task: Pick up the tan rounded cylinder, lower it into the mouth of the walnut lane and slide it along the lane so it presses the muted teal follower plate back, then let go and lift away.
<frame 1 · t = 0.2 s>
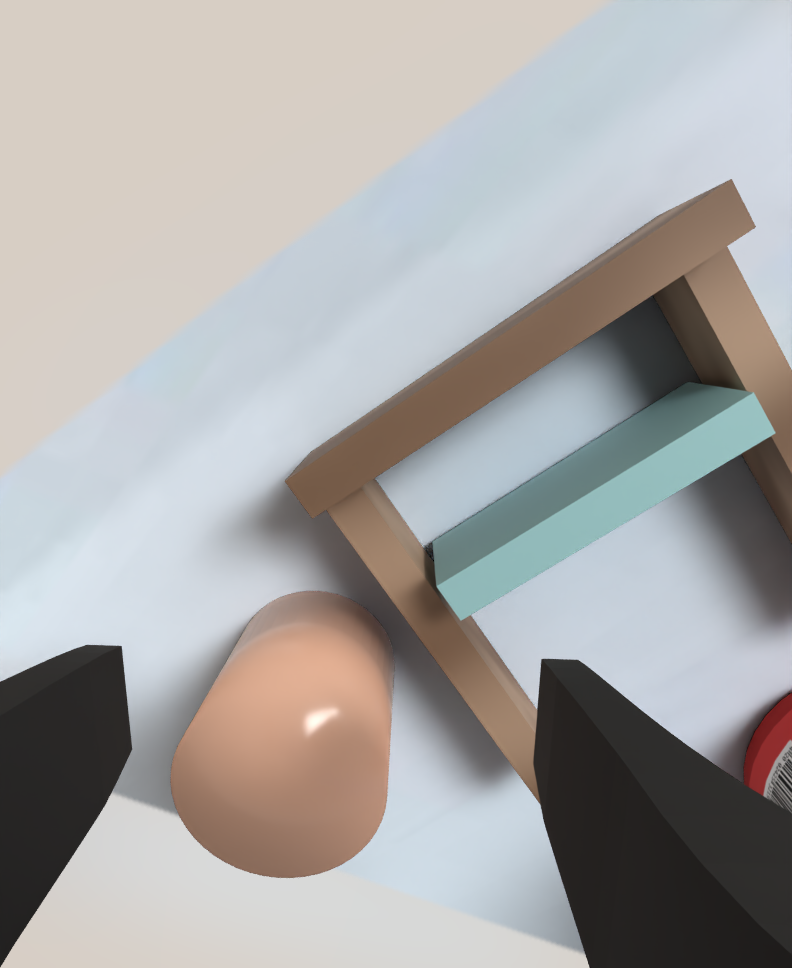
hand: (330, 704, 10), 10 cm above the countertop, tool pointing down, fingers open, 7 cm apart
lane: (594, 528, 19), on the countertop
follower plate: (580, 494, 17), point 2 cm above the countertop, slide at 0.0 cm
tan rounded cylinder: (316, 663, 21), on the countertop
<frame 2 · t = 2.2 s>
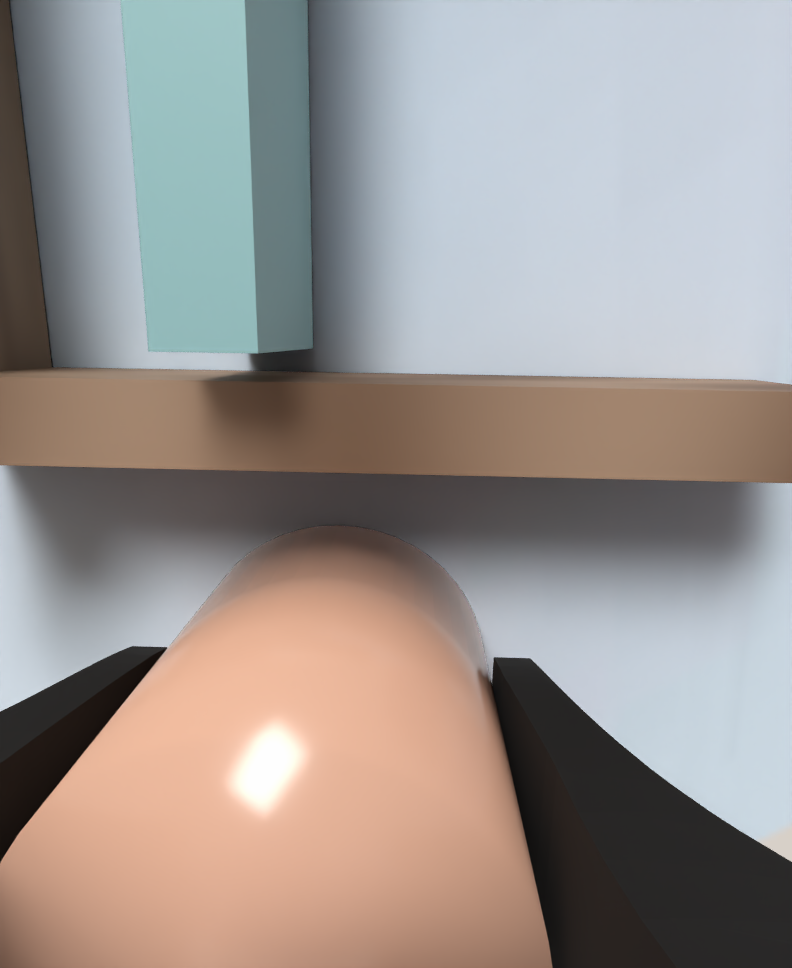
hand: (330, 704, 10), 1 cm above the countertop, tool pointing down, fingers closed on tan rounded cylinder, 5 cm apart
lane: (402, 38, 9), on the countertop
tan rounded cylinder: (340, 660, 12), on the countertop, touching gripper
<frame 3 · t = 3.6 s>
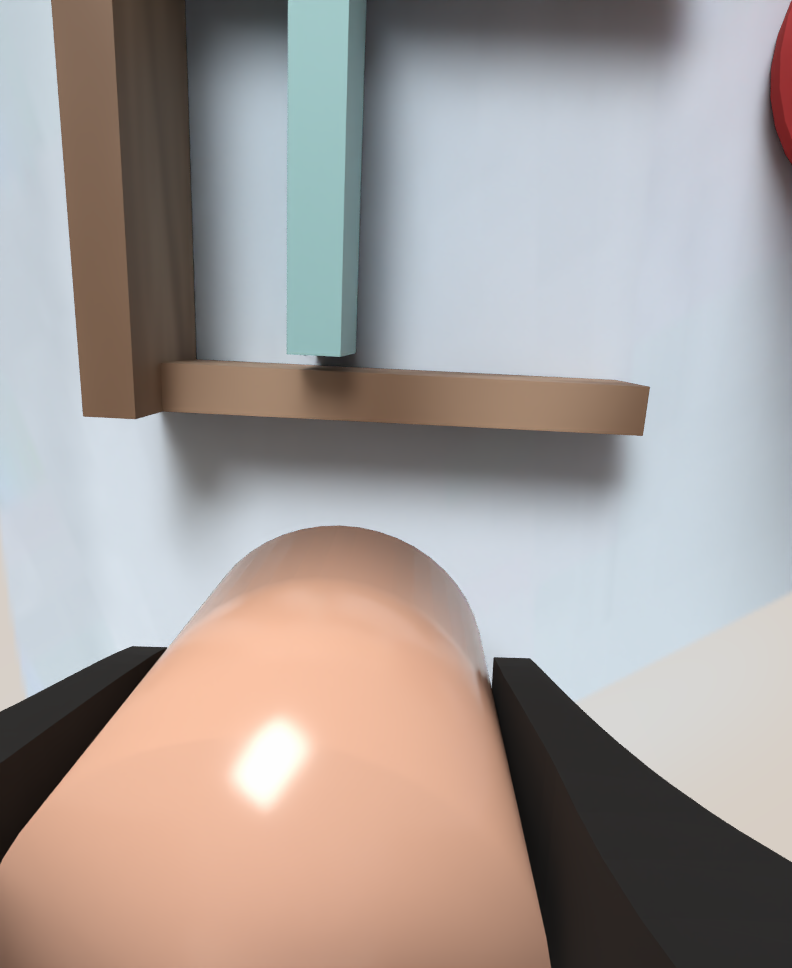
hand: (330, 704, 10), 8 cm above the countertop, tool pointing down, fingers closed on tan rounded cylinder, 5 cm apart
lane: (414, 178, 16), on the countertop
follower plate: (328, 152, 14), point 2 cm above the countertop, slide at 0.0 cm
tan rounded cylinder: (340, 660, 12), point 7 cm above the countertop, touching gripper
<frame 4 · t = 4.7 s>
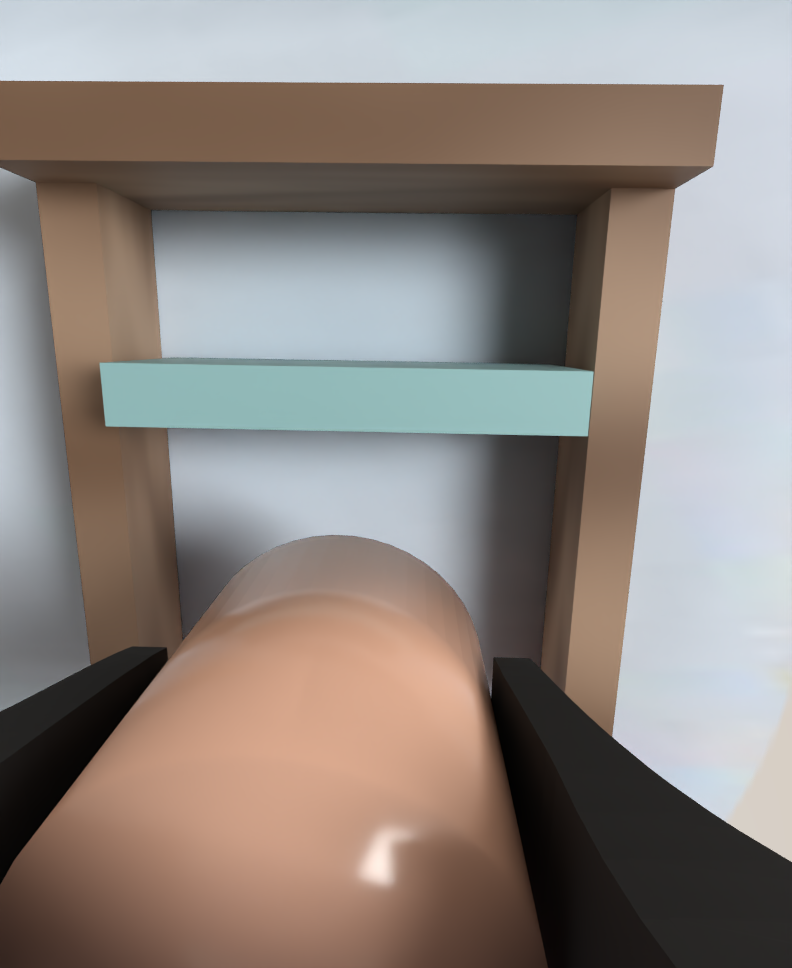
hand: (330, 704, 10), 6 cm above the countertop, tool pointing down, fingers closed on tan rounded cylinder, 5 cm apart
lane: (361, 463, 15), on the countertop
follower plate: (353, 391, 13), point 2 cm above the countertop, slide at 0.0 cm
tan rounded cylinder: (340, 669, 12), point 5 cm above the countertop, touching gripper
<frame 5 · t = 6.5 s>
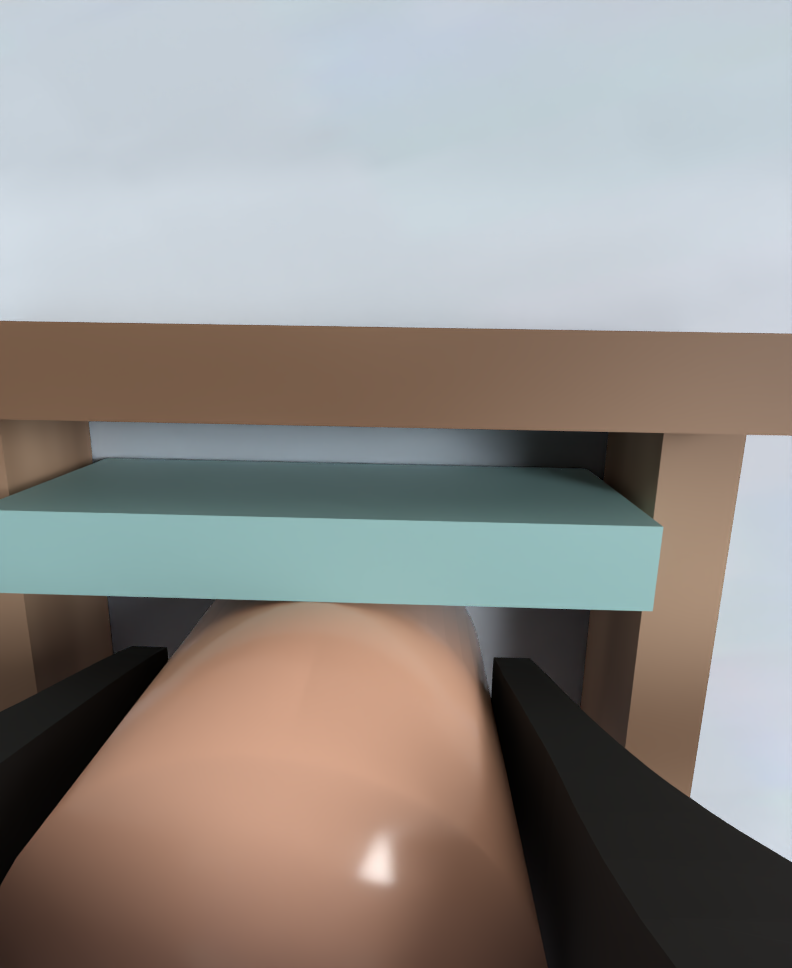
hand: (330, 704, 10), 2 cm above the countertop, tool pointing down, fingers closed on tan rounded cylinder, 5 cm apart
lane: (346, 679, 13), on the countertop
follower plate: (331, 521, 10), point 2 cm above the countertop, slide at 2.1 cm
tan rounded cylinder: (340, 669, 12), point 1 cm above the countertop, touching gripper
when the fingers open (2 cm above the countertop, at t = 7.7 s): tan rounded cylinder stays where it is, resting in lane.
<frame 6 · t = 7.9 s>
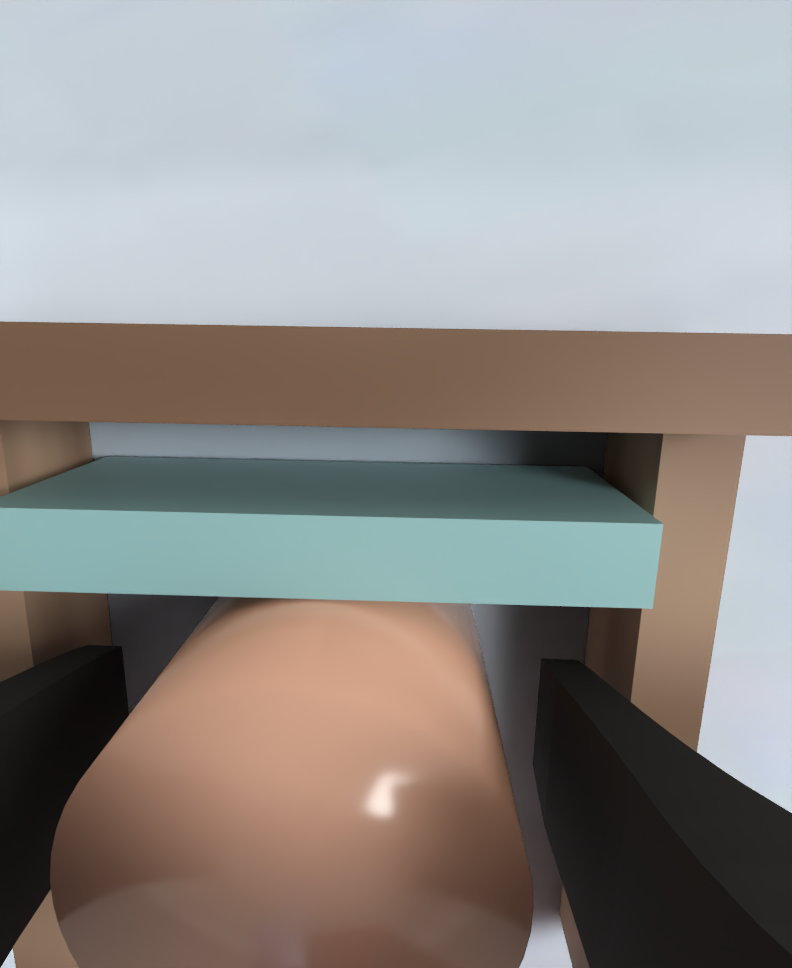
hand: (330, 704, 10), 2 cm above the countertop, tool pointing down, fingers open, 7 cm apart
lane: (346, 679, 13), on the countertop
follower plate: (331, 519, 10), point 2 cm above the countertop, slide at 2.2 cm
tan rounded cylinder: (347, 644, 13), resting in lane
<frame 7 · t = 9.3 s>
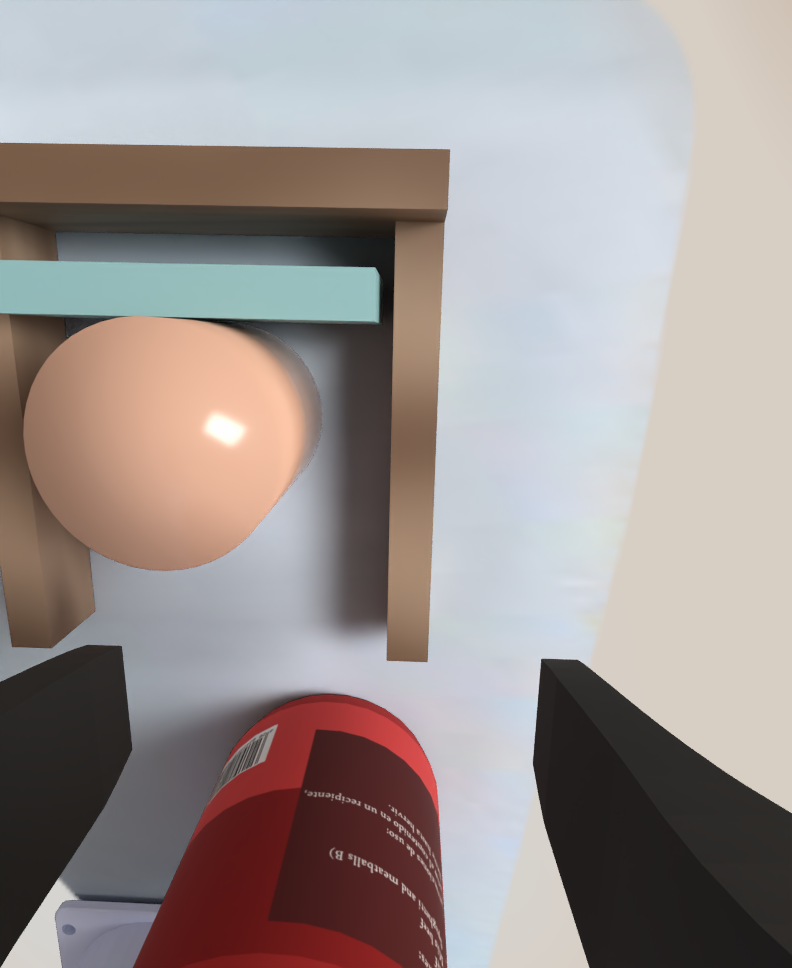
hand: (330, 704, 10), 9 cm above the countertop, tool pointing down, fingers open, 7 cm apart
lane: (234, 440, 19), on the countertop
follower plate: (205, 295, 16), point 2 cm above the countertop, slide at 2.2 cm
canned food: (332, 779, 22), on the countertop
tan rounded cylinder: (234, 414, 19), resting in lane
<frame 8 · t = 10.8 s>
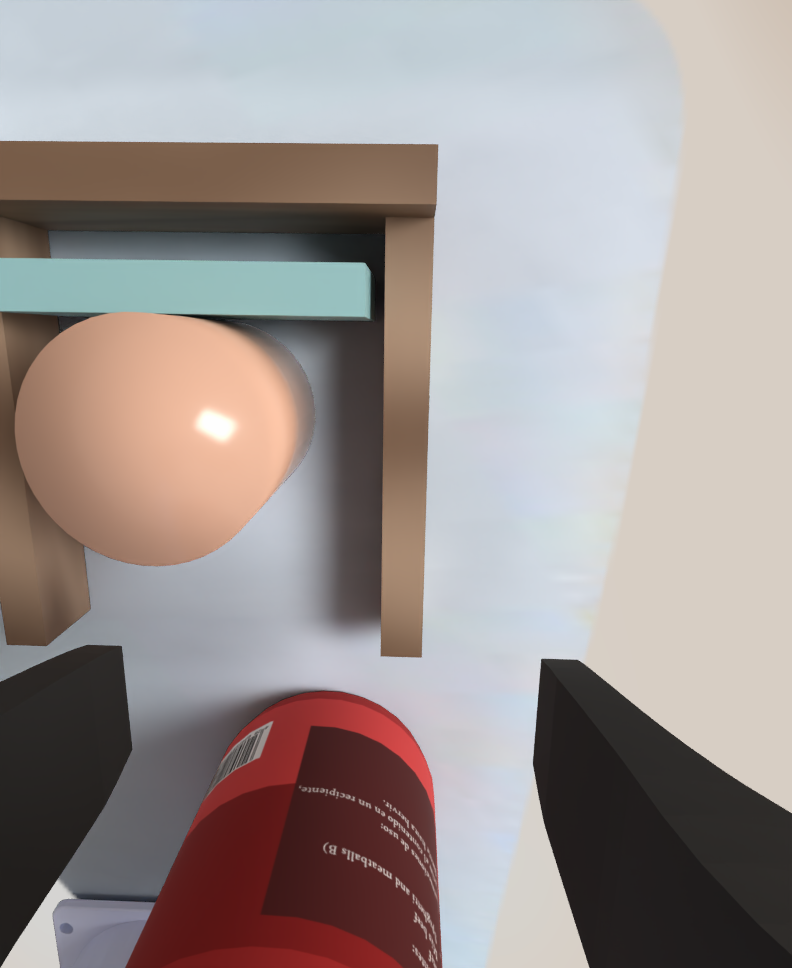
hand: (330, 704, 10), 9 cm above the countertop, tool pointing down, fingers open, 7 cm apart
lane: (227, 437, 19), on the countertop
follower plate: (196, 292, 16), point 2 cm above the countertop, slide at 2.2 cm
canned food: (328, 776, 22), on the countertop
tan rounded cylinder: (227, 411, 19), resting in lane
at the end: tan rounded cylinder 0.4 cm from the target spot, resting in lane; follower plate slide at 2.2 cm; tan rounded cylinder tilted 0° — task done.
